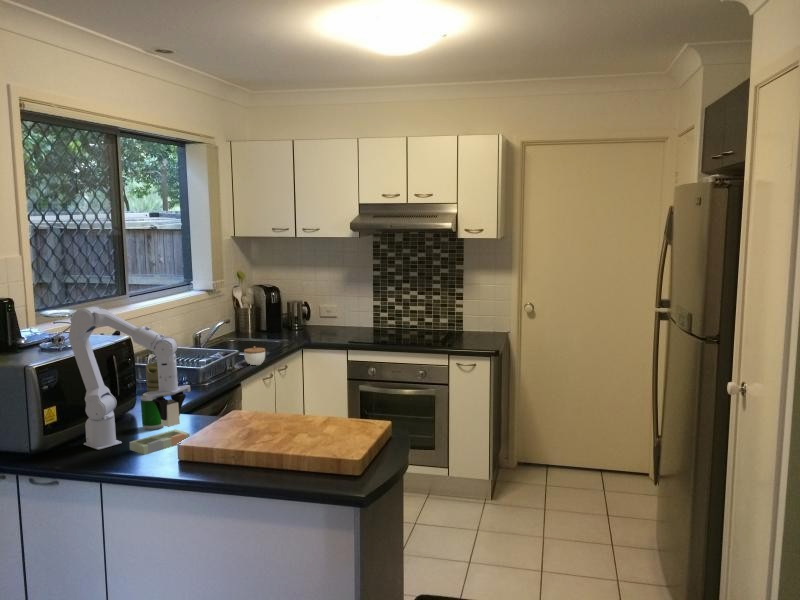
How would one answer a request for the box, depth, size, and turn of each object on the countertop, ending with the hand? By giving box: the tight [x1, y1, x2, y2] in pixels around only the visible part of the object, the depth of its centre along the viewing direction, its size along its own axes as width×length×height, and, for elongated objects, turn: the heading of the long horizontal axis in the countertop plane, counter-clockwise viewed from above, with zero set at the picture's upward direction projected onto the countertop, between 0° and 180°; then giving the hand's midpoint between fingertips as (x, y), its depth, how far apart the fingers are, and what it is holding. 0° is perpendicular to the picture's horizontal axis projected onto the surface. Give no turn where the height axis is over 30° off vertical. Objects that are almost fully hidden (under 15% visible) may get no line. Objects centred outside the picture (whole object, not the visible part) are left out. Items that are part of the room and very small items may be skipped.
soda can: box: [140, 391, 164, 431], centre depth 230 cm, size 8×8×12 cm
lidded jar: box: [243, 345, 266, 366], centre depth 339 cm, size 11×11×9 cm
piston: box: [145, 361, 159, 393], centre depth 284 cm, size 11×12×11 cm
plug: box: [161, 398, 181, 428], centre depth 213 cm, size 4×4×8 cm
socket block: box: [129, 429, 191, 455], centre depth 210 cm, size 8×16×3 cm, turn 141°
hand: (170, 418), depth 213 cm, fingers closed on plug, 4 cm apart
